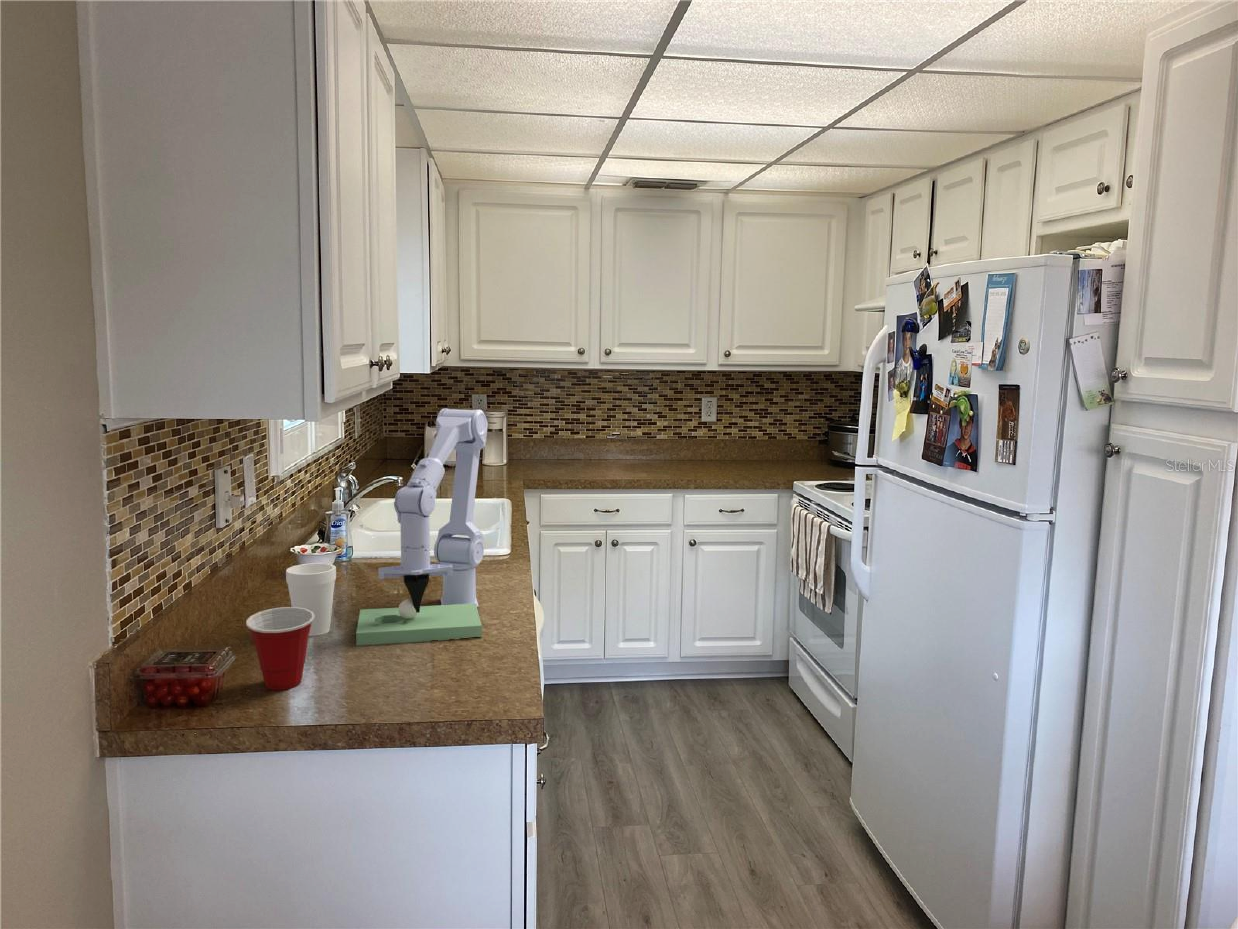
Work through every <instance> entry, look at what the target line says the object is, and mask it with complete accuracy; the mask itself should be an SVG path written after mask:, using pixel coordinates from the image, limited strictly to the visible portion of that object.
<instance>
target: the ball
mask: <svg viewBox="0 0 1238 929" xmlns="http://www.w3.org/2000/svg"><path fill="white" fill-rule="evenodd" d="M398 608H399V614H400V615H401V617H403V618H405V619H412V618H414V617H415V616H416V615H417V614H418V613H416V610H415V608H414V606H413V602H412V599H411V598H410V599H408V598H407V599H404V600H403V601H401V602H400V604H399V605H398Z"/></svg>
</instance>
